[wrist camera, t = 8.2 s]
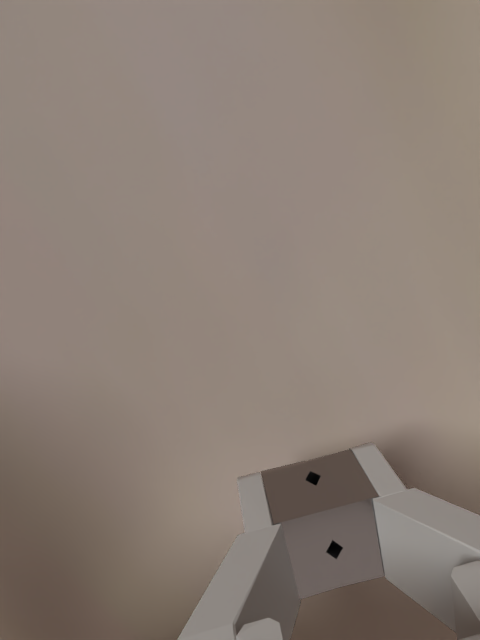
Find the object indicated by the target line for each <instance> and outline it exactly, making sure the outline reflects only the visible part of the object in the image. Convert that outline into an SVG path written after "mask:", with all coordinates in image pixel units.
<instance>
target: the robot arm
mask: <svg viewBox="0 0 480 640" xmlns="http://www.w3.org/2000/svg"><path fill="white" fill-rule="evenodd" d="M261 475H262V477H261ZM262 479H263V481H262ZM263 484H264V485H263ZM237 485H238V492H239V498H240V505H241V511H242V518H243V525H244V531H245V533H243V534H239V535H238V536H237V537H236V539H235V541H234V542H233V544H232V546H231V548H230V549H229V551H228V553H227V555H226V556H225V558H224V560H223V561H222V563H221V565H220V567H219V568H218V570H217V572H216V573H215V575H214V577H213V579H212V580H211V582H210V584H209V586H208V587H207V589H206V591H205V592H204V594H203V596H202V598H201V599H200V601H199V603H198V605H197V606H196V608H195V610H194V611H193V613H192V615H191V617H190V618H189V620H188V622H187V623H186V625H185V627H184V629H183V630H182V632H181V634H180V636H179V637H178V639H177V640H290V639H291V635H292V632H293V628H294V625H295V621H296V617H297V614H298V610H299V607H300V603H301V601H300V599H303V598H306V597H309V596H313V595H316V594H319V593H322V592H326V591H329V590H332V589H335V588H339V587H342V586H346V585H351V584H355V583H359V582H363V581H367V580H371V579H375V578H380V577H384V576H385V578H386V579H387V580H388V581H390V582H391V583H392V584H393V585H395V586H396V587H397V588H399V589H400V590H401V591H402V592H404V593H405V594H406V595H408V596H409V597H410V598H412V599H413V600H414V601H415V602H417V603H418V604H419V605H421V606H422V607H423V608H425V609H426V610H427V611H428V612H430V613H431V614H432V615H434V616H435V617H436V618H438V619H439V620H440V621H441V622H443V623H444V624H445V625H447V626H448V627H449V628H450V629H452V630H453V631H454V632H456V633H457V640H480V515H478V514H476V513H473V512H471V511H469V510H466V509H464V508H462V507H459V506H457V505H454V504H452V503H450V502H447V501H445V500H443V499H440V498H438V497H435V496H433V495H431V494H428V493H426V492H423V491H421V490H419V489H416V488H412V489H407V488H406V487H405V485H404V484H403V482H402V481H401V480H400V478H399V477H398V475H397V474H396V473H395V471H394V470H393V469H392V467H391V466H390V464H389V463H388V462H387V460H386V459H385V457H384V456H383V455H382V453H381V452H380V450H379V449H378V448H377V446H376V445H375V444H374V443H372V442H370V443H366V444H363V445H359V446H356V447H353V448H349V450H345V451H341V452H338V453H334V454H330V455H326V456H323V457H319V458H315V459H312V460H308V461H302V462H298V463H294V464H290V465H285V466H281V467H277V468H273V469H269V470H264V471H261V473H260V472H257V473H253V474H249V475H245V476H241V477H238V478H237Z"/></svg>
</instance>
